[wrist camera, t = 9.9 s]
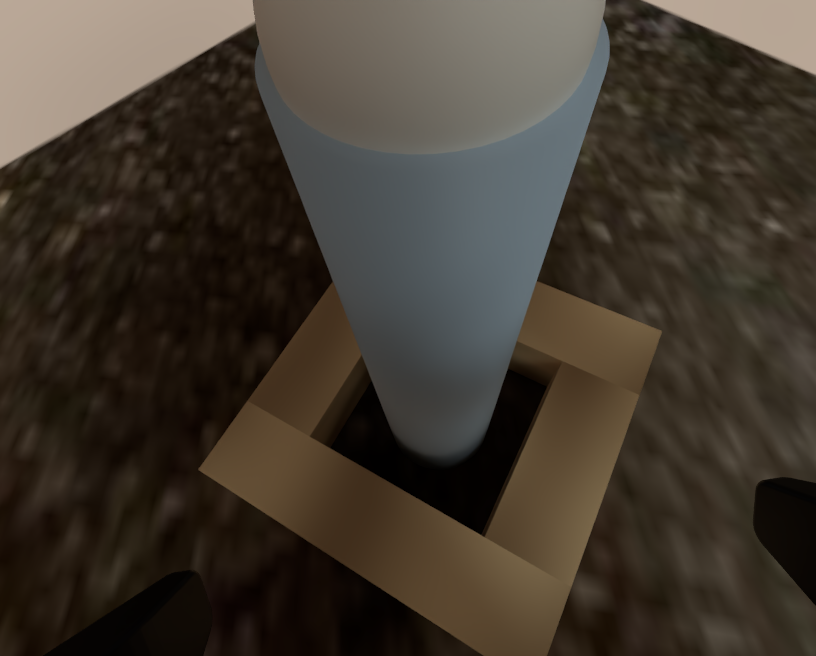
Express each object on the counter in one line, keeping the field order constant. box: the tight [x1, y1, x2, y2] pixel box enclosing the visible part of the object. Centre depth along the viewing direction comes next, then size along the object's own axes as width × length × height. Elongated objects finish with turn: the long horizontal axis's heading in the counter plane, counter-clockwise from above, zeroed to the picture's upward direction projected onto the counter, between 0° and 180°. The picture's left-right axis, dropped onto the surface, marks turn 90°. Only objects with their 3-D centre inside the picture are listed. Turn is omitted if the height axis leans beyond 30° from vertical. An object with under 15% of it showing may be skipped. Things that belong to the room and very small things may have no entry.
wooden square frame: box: [198, 281, 662, 656], centre depth 16 cm, size 11×11×2 cm
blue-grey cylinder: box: [253, 0, 609, 470], centre depth 10 cm, size 4×4×16 cm
